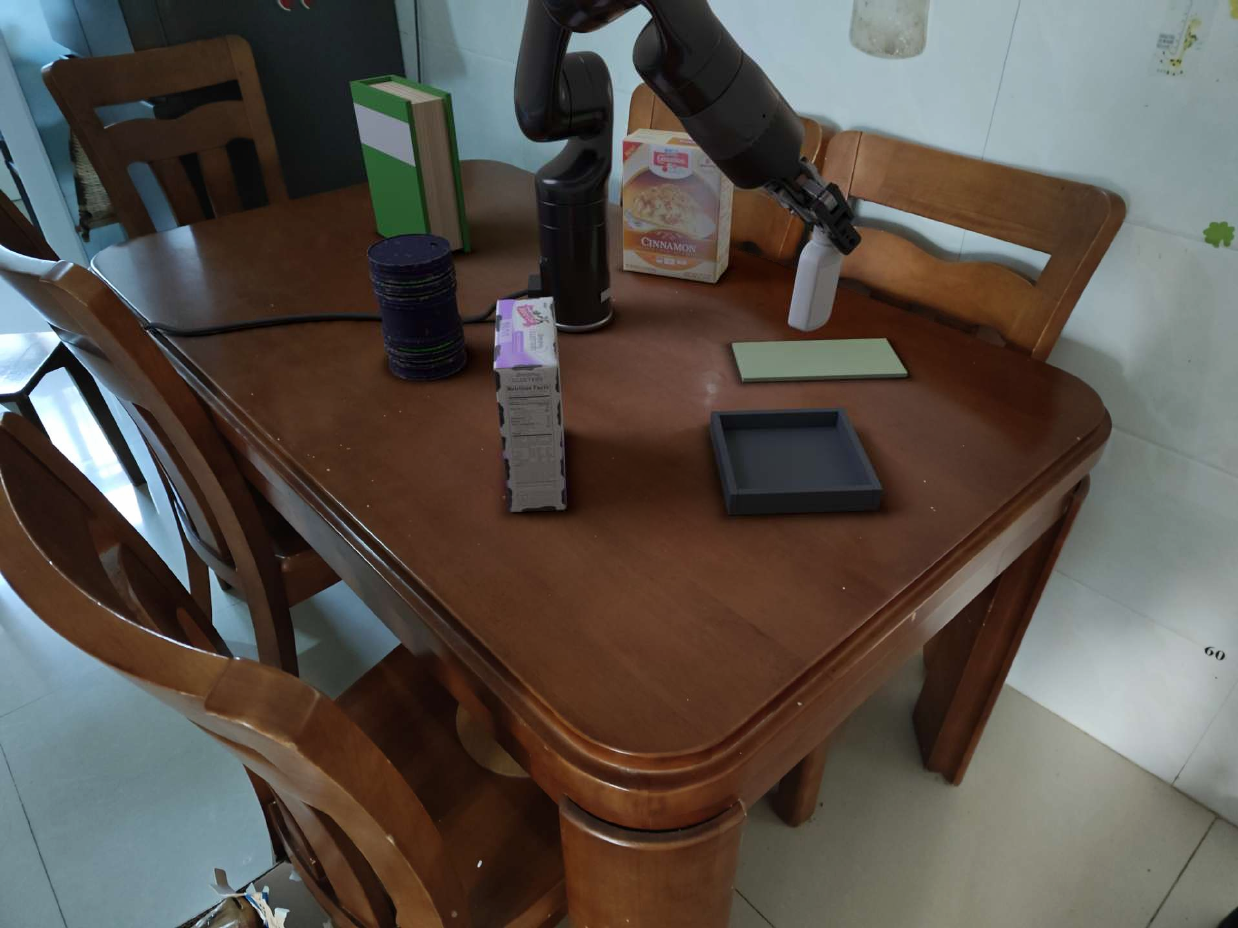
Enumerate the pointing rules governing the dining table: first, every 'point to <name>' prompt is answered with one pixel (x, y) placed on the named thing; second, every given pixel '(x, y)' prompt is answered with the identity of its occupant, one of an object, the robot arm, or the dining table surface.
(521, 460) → the candy box
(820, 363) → the mat
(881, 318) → the dining table surface
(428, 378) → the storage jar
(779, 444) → the tray
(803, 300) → the eye dropper bottle
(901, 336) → the dining table surface
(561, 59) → the robot arm
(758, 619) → the dining table surface
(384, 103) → the hardback book
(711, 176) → the coffeecake box
